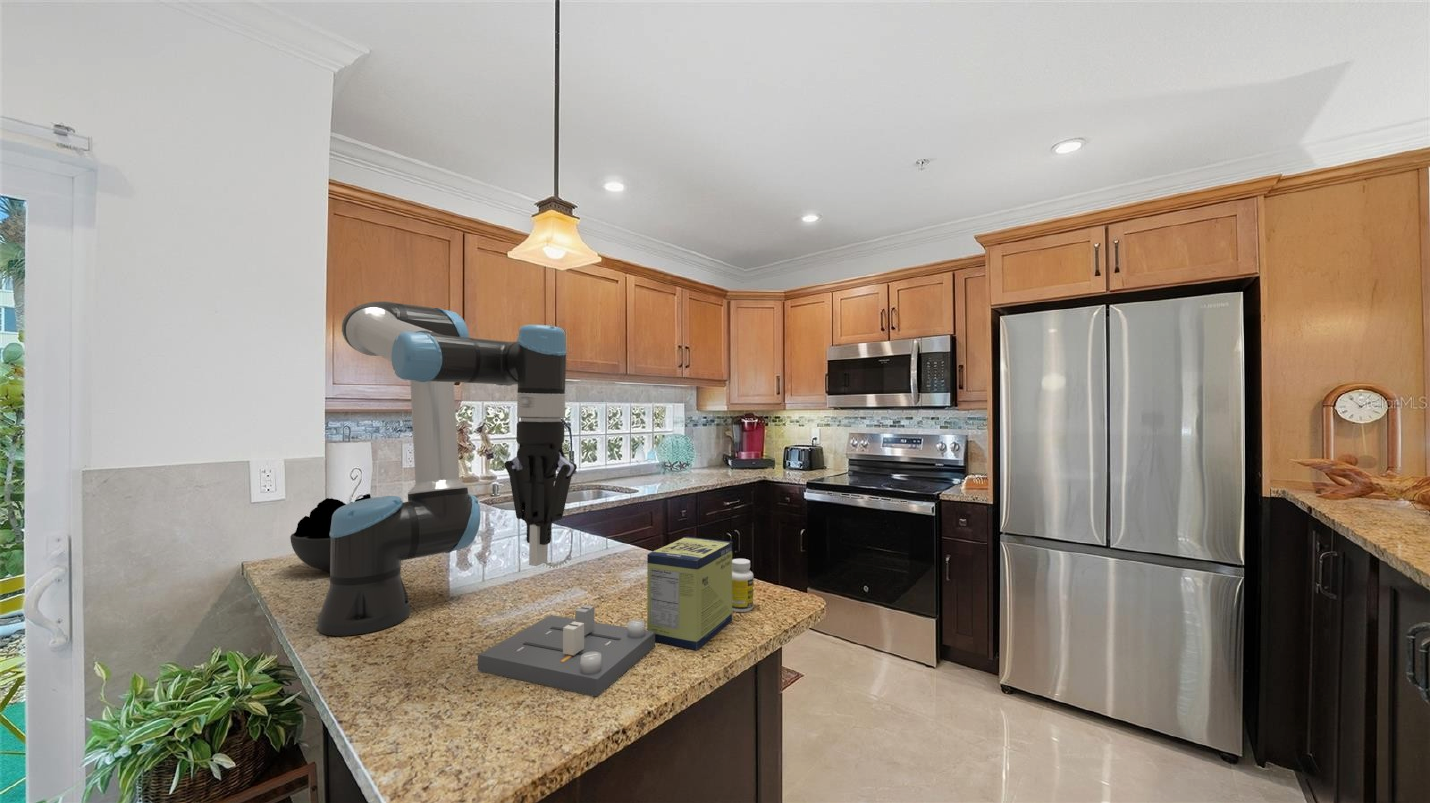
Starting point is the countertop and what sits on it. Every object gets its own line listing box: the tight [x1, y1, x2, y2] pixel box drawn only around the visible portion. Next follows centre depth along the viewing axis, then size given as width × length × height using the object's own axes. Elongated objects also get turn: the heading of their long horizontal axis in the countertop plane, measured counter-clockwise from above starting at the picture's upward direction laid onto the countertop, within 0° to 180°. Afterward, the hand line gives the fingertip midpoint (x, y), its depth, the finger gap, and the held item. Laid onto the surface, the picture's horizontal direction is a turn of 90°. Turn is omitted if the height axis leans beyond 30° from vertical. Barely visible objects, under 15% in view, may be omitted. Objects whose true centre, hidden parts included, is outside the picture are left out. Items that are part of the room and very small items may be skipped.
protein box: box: [646, 536, 733, 651], centre depth 102 cm, size 10×16×16 cm
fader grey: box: [574, 604, 595, 636], centre depth 94 cm, size 2×3×4 cm
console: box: [477, 614, 656, 698], centre depth 90 cm, size 22×18×5 cm
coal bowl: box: [289, 493, 372, 572], centre depth 141 cm, size 20×20×19 cm
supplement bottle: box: [732, 558, 754, 613], centre depth 113 cm, size 5×5×10 cm
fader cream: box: [563, 622, 584, 656], centre depth 87 cm, size 2×3×4 cm
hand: (538, 563), depth 89 cm, fingers closed
